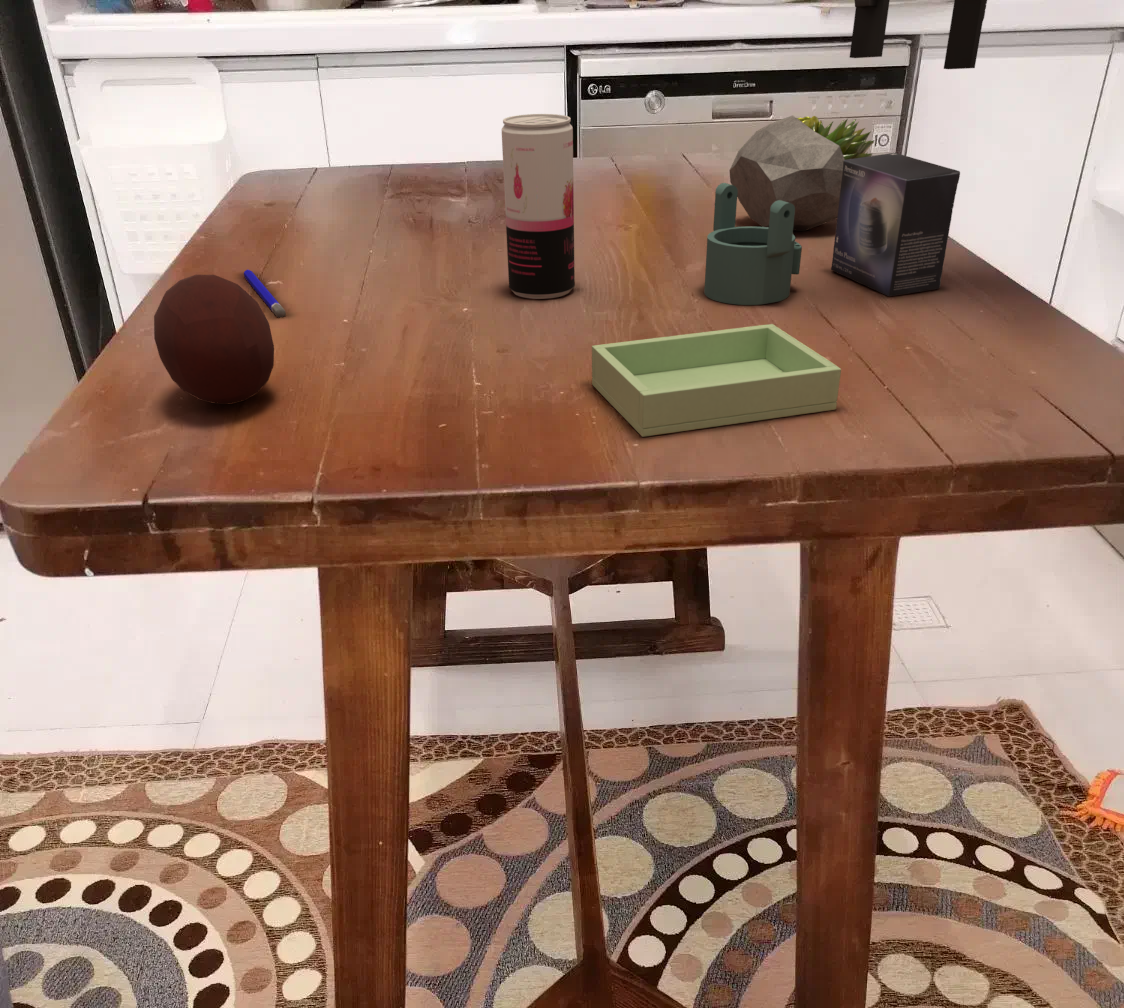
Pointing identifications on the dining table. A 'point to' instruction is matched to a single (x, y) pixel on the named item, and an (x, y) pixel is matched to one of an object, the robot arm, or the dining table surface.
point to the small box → (894, 222)
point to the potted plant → (796, 168)
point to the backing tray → (713, 379)
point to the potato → (214, 339)
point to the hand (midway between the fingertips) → (914, 63)
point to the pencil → (264, 294)
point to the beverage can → (539, 204)
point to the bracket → (750, 254)
